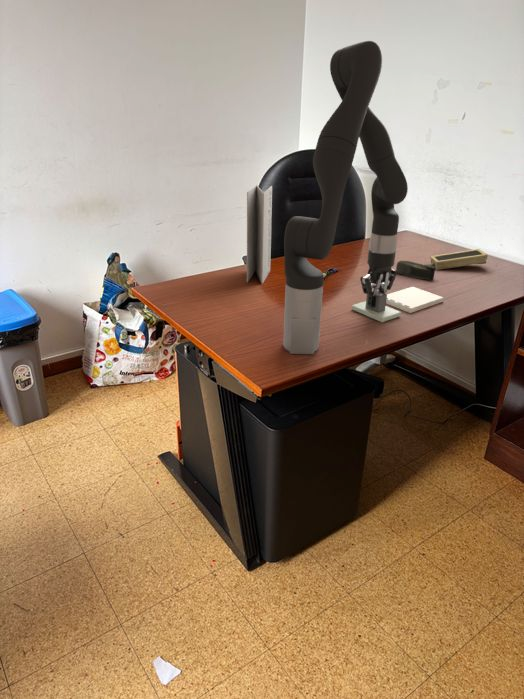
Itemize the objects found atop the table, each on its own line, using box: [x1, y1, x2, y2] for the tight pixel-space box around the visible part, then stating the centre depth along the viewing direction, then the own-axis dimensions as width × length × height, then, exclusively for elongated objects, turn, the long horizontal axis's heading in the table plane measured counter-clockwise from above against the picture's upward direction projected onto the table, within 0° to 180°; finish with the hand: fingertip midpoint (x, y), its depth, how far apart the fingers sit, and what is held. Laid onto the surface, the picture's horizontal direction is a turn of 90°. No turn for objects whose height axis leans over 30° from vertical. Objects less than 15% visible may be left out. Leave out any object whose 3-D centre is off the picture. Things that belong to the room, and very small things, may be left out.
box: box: [424, 248, 489, 271], centre depth 198 cm, size 8×22×5 cm, turn 92°
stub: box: [351, 289, 402, 323], centre depth 156 cm, size 8×12×6 cm, turn 37°
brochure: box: [246, 184, 273, 284], centre depth 179 cm, size 14×6×30 cm, turn 168°
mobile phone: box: [395, 260, 436, 281], centre depth 188 cm, size 5×3×15 cm
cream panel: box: [386, 286, 444, 314], centre depth 166 cm, size 16×12×2 cm
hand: (375, 305), depth 156 cm, fingers closed on stub, 3 cm apart
